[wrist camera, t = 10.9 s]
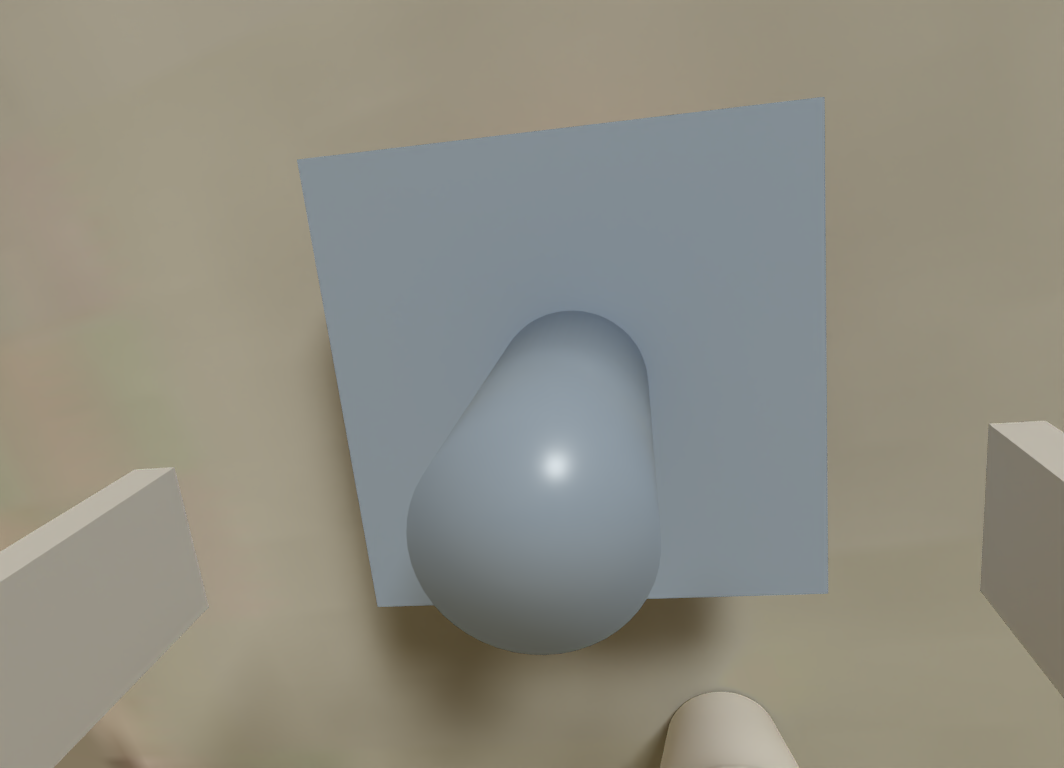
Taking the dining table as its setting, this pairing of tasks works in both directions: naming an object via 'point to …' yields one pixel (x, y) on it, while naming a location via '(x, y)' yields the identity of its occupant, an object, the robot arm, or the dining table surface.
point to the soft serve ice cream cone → (724, 735)
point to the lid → (583, 366)
